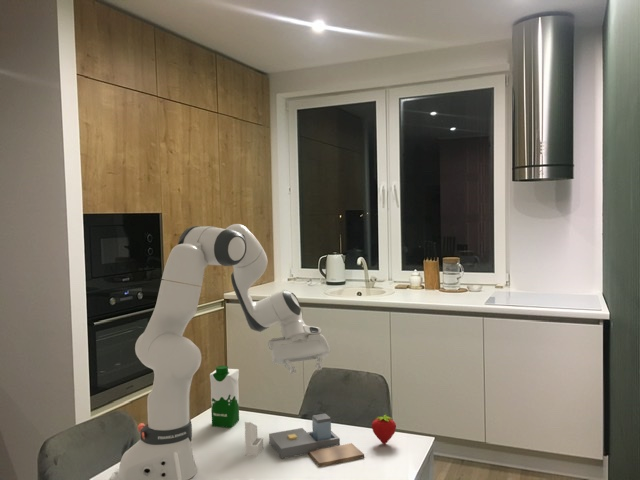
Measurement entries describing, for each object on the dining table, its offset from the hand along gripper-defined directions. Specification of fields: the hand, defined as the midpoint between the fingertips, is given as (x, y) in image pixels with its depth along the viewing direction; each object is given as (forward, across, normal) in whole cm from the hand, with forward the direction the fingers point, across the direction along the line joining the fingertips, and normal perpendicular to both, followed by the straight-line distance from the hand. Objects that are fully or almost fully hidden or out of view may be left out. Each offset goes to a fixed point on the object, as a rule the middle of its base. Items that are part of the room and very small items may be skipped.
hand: (306, 370), depth 178 cm
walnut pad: (+30, 0, -4) cm, 31 cm away
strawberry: (+29, +17, -2) cm, 34 cm away
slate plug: (+23, 0, +4) cm, 23 cm away
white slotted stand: (+21, -21, +6) cm, 31 cm away
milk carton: (+3, -24, +24) cm, 34 cm away
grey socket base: (+23, -6, +4) cm, 24 cm away
